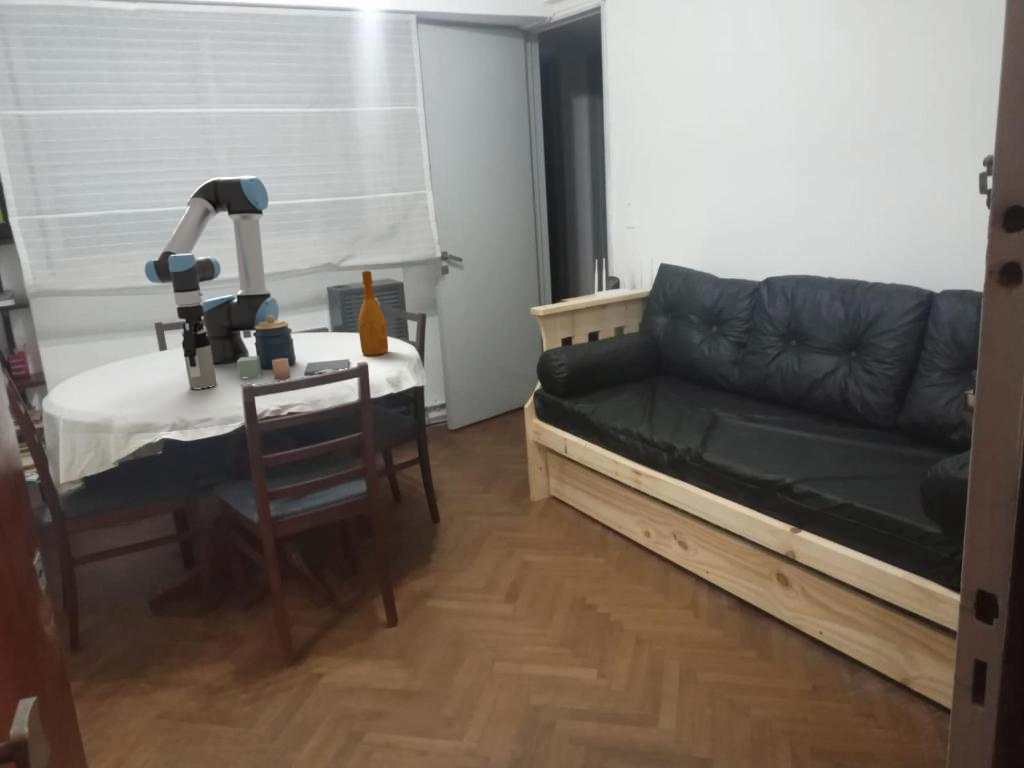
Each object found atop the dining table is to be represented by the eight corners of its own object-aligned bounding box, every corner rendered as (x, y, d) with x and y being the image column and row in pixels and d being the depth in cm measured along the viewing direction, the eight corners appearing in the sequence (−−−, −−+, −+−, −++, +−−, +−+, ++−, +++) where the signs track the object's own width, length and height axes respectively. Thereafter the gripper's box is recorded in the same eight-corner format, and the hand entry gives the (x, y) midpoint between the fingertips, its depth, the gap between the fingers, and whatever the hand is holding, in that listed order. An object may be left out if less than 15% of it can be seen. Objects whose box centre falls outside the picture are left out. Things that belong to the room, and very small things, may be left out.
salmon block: (275, 376, 238) (272, 358, 236) (291, 375, 238) (288, 357, 237) (273, 380, 233) (270, 362, 231) (289, 378, 234) (286, 360, 232)
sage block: (243, 374, 243) (240, 357, 241) (261, 373, 244) (258, 355, 242) (239, 379, 237) (236, 361, 236) (258, 377, 238) (256, 359, 237)
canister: (304, 362, 256) (297, 313, 251) (275, 371, 245) (267, 319, 241) (279, 359, 263) (272, 311, 258) (250, 367, 252) (242, 317, 248)
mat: (308, 365, 250) (307, 362, 250) (349, 361, 252) (349, 359, 252) (304, 375, 237) (304, 372, 236) (348, 371, 239) (347, 368, 239)
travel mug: (222, 383, 232) (213, 328, 227) (203, 390, 225) (193, 333, 220) (203, 382, 235) (194, 328, 230) (184, 389, 228) (174, 333, 223)
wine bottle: (382, 356, 257) (373, 272, 250) (356, 356, 260) (347, 272, 252) (393, 350, 267) (384, 268, 259) (369, 350, 269) (360, 269, 261)
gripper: (192, 309, 212) (204, 379, 217) (210, 298, 235) (221, 361, 241) (165, 311, 210) (178, 382, 216) (186, 300, 234) (197, 364, 240)
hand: (200, 371), depth 228 cm, fingers open, 13 cm apart
